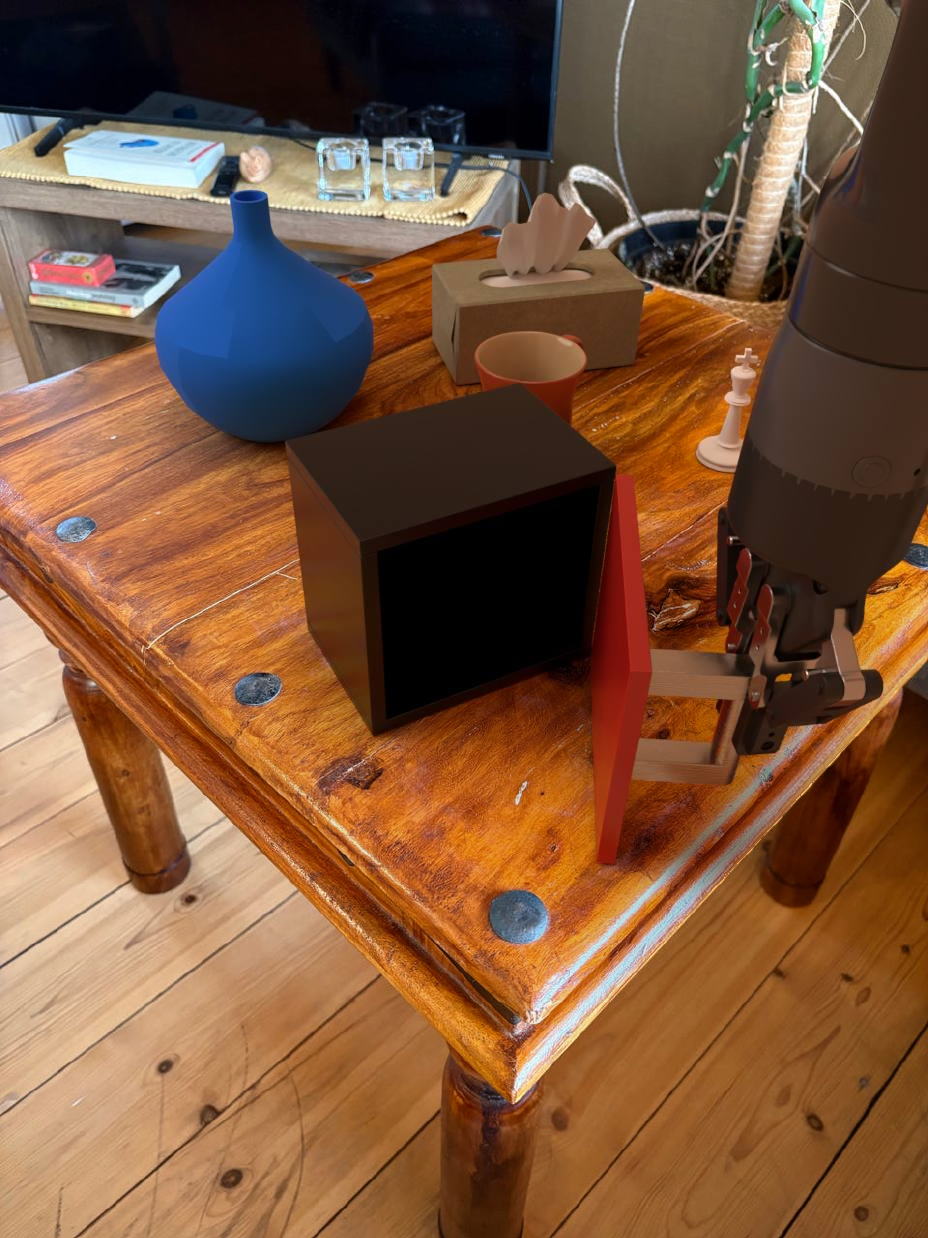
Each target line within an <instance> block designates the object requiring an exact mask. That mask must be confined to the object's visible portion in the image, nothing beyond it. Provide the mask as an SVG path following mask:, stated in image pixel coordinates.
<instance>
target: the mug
mask: <svg viewBox="0 0 928 1238" xmlns="http://www.w3.org/2000/svg"><path fill="white" fill-rule="evenodd" d="M474 358H475V363H476V366H477V370H478V373H479V376H480V380H481V383H480V384H481V392H483V391H487V390H491V389H495V388H499V387H503V386H507V385H511V384H515V383H521V384H523V385H524V386H525V387H526V388H527V389H528V390H530V391H531V392H532V393H533V394H534V395H535V396H537V397H538V398H539V399H540V400H541V401H542V402H543V403H545V404H546V405H547V406H548V407H549V408H550V409H552V410H553V411H554V412H555V413H556V414H557V415H559V416H560V417H561V418H562V419H563V420H564V421H566V422H567V423H568V424H569V425H570V426H571V427H573V409H574V400H575V399H574V398H575V395H576V391H577V388H578V386H579V383H580V381H581V379H582V377H583V374H584V373H585V371H586V370H585V368H586V365H587V356H586V354H585V352H584V346H583V342H582V340H581V339H580V338H578V337H576V336H573V335H568V334H566V335H562V336H558V335H554V334H550V333H545V332H537V331H519V332H509V333H504V334H500V335H497V336H494V337H491V338H489V339H487V340H485V341H484V342H482V343H481V344H480V345H479V346H478V347H477V349H476V351H475V355H474ZM584 370H585V371H584Z"/></svg>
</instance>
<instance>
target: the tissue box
mask: <svg viewBox="0 0 928 1238" xmlns="http://www.w3.org/2000/svg"><path fill="white" fill-rule="evenodd" d="M597 221H598V220H597V219H596V218H595V217H592V216H591V215H589V214H588V213H587V212H586V210H585V208H583V206H582V205H581V204H580V203H578V202H574V203H573V204H572V206H571V207H570V208H569V209H568V208H565V207H563V206H562V205H560V203H558V201H557V199H556V197H554V195H553V194H552V193H548V192H543V193H541V194H539V195H537V198H536V199H535V201H534V203H533V205H532V207H531V210H530V213H529V216H528V218H527V221H526V222H523V223H517V222H514V221H509V222H508V223H507V224H506V225H505V226H504V227H503V228H502V230H501V234H500V237H499V241H498V245H497V247H496V258H494V257H493V258H483V259H473V260H461V261H452V262H440V263H434V264H433V265H431V310H432V312H431V314H432V316H431V317H432V318H431V319H432V320H431V321H432V322H431V323H432V325H431V326H432V332H431V333H432V343H433V344H434V346H435V347H436V349H437V351H438V354H439V355H440V357H441V358H442V361H443V362H444V364H445V367H446V369H447V370H448V371H449V374H450V375H451V377H452V379H453V381H454V383H455V384H456V385H457V386H464V385H474V384H481V380H480V376H479V373H478V370H477V366H476V363H475V358H474V355H475V351H476V349H477V347H478V346H479V345H480V344H481V343H482V342H484V341H485V340H487V339H489V338H491V337H494V336H497V335H500V334H504V333H509V332H519V331H537V332H545V333H550V334H554V335H558V336H562V335H566V334H568V335H573V336H576V337H578V338H580V339H581V340H582V342H583V346H584V352H585V354H586V356H587V365H586V368H585V370H584V372H585V371H592V370H593V371H594V370H601V369H609V368H617V367H625V366H626V367H627V366H633V365H634V364H635V363H636V359H637V358H636V357H637V350H638V345H639V335H640V330H641V329H640V328H641V322H642V314H643V308H644V300H645V293H646V286H645V285H644V284H643V283H642V282H641V281H640V280H639V279H638V278H637V277H636V276H635V275H634V273H632V272H631V271H630V270H629V269H628V267H626V266H625V265H624V263H622V262H621V261H620V259H618V258H617V257H616V256H615V254H614V253H612V252H611V250H610V249H608V248H607V247H605V248H593V249H584V250H579V249H580V247H581V246H582V244H583V242H584V241H585V239H586V238H587V236H588V235H589V233H590V232H591V230H593V228H594V226H595V225H596V223H597Z"/></svg>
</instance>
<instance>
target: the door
mask: <svg viewBox="0 0 928 1238" xmlns="http://www.w3.org/2000/svg"><path fill="white" fill-rule="evenodd" d="M614 481H615V482H614V489H613V497H612V504H611V511H610V518H609V526H608V533H607V540H606V547H605V554H604V562H603V569H602V576H601V583H600V591H599V598H598V605H597V612H596V620H595V627H594V634H593V641H592V649H591V655H590V658H589V666H590V667H589V669H590V670H589V671H590V700H591V703H590V704H591V733H592V765H593V767H592V769H593V794H594V795H593V800H594V830H595V836H594V837H595V861H596V863H600V864H613V865H614V864H615V863H616V858H617V852H618V847H619V843H620V839H621V838H620V837H621V832H622V827H623V823H624V819H625V818H624V817H625V813H626V807H627V802H628V796H629V792H630V786H631V781H643V782H644V781H645V782H647V781H648V782H660V783H675V784H691V785H705V786H719V787H723V786H724V787H725V786H728V785H731V784H732V783H733V782H734V781H735V778H736V774H737V772H738V768H739V765H740V761H741V759H742V756H740V755H738V754H737V753H736V751H735V749H734V747H733V744H732V742H731V740H732V737H733V734H734V731H735V728H736V725H737V722H738V719H739V716H740V713H741V710H742V707H743V704H744V701H745V698H746V695H747V694H748V692H749V686H750V683H751V679H752V676H753V672H754V669H755V665H754V663H753V661H752V659H751V658H750V656H749V655H747V654H731V653H726V652H713V651H699V650H698V651H695V650H681V649H680V650H678V649H667V648H665V649H663V648H651V644H650V633H649V623H648V613H647V611H648V610H647V601H646V592H645V581H644V571H643V561H642V550H641V540H640V539H641V538H640V529H639V521H638V520H639V519H638V510H637V500H636V488H635V477H634V475H633V474H623V473H622V474H619V473H616V476H615V480H614ZM648 696H661V697H662V696H664V697H679V698H693V699H694V698H696V699H710V700H718V699H723V702H722V706H721V709H720V713H719V714H718V716H717V721H716V725H715V728H714V731H713V734H712V735H713V736H712V739H711V742H709V741H692V740H678V739H677V740H676V739H663V738H661V739H660V738H649V737H648V738H647V737H640V736H641V732H642V726H643V721H644V716H645V711H646V708H647V701H648Z"/></svg>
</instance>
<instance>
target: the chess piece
mask: <svg viewBox="0 0 928 1238" xmlns="http://www.w3.org/2000/svg"><path fill="white" fill-rule="evenodd" d="M744 349H745V350H744V354H736V355H735V358H734V360H735V363H737V364H741V365H738V366H735V367H733V368H732V369H730V378H731V387H732V390H731V391H728V392H726V394H725V396H724V401H725V402H726V403H727V404H729V408H728V411H727V414H726V417H725V419H724V422H723V425H722V427H721V430H720V433H719V434H716V435H711V436H707V437H705V438H703V439H702V440H701V441H700V442H699V444H698V445H697V448H696V451H695V456H696V458H697V460H698V461H699V462H700V463H701V464H702V465H704V466H705V467H706V468H709V469H711V470H714V471H718V472H722V473H735V470H736V466H737V463H738V459H739V455H740V451H741V448H742V444H743V440H744V439H742V438H741V436H740V434H741V433H740V431H741V420H742V412H743V411H742V410H743V407H745V406H748V405H750V404H751V403H752V398H751V396H750V394H748V393H747V392H748V390H749V389H750V387H751V385H752V384H753V382H754V381H755V379H756V377H757V372H756V370H755V369H753V368H751V367H750V364H758V361H759V356H758V355H753V354H752V353H753V349H752V347H745V348H744Z"/></svg>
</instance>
